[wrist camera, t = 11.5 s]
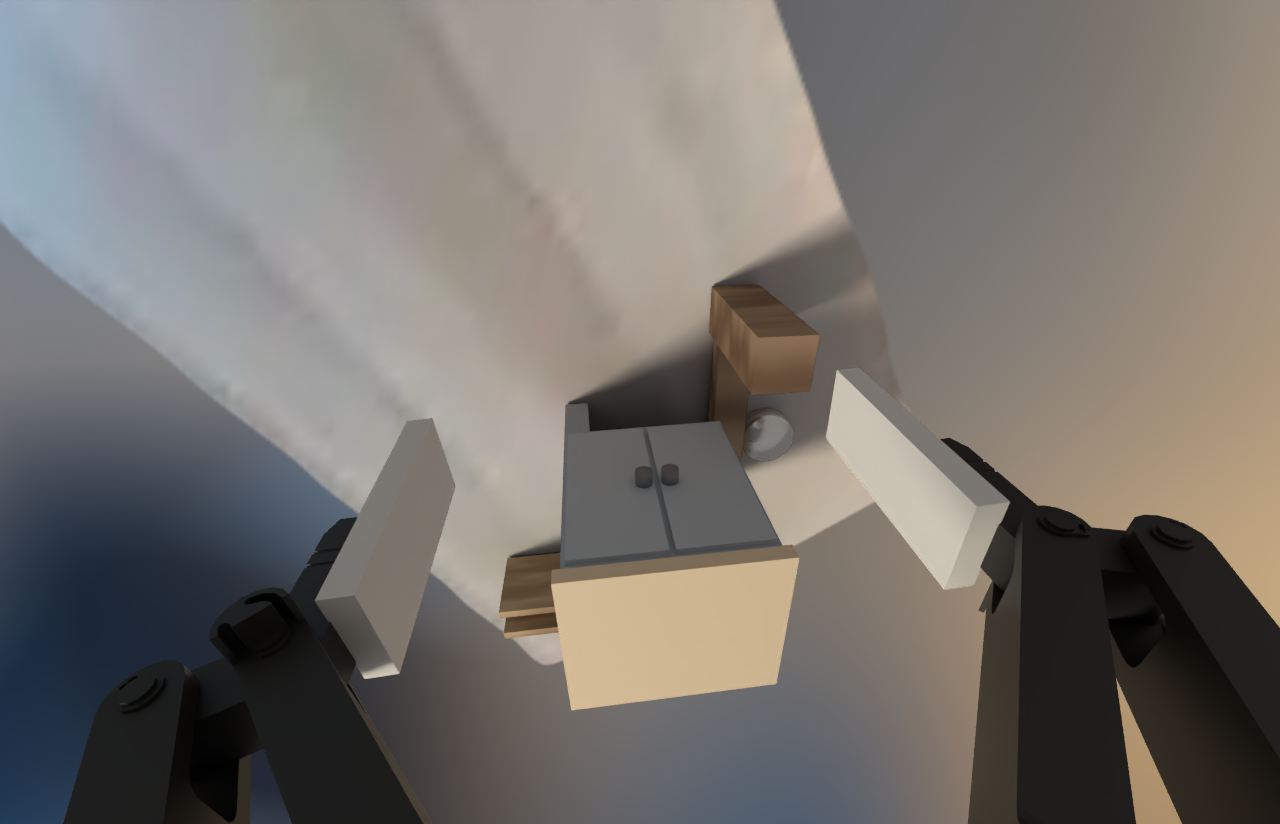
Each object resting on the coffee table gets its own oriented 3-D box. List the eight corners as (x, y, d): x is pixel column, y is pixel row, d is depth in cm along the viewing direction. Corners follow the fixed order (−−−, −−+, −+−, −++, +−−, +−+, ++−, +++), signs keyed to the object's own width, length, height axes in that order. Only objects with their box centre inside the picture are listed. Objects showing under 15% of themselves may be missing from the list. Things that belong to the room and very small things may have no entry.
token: (741, 408, 48) (747, 417, 46) (791, 407, 48) (798, 416, 47) (734, 451, 50) (739, 462, 48) (781, 450, 51) (788, 460, 49)
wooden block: (711, 286, 41) (758, 337, 31) (758, 284, 42) (819, 334, 31) (700, 455, 49) (734, 541, 39) (739, 452, 50) (783, 536, 39)
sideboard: (559, 391, 44) (548, 570, 26) (711, 380, 45) (801, 544, 27) (572, 502, 51) (571, 710, 32) (705, 490, 52) (776, 683, 34)
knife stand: (507, 558, 53) (498, 612, 47) (690, 539, 55) (705, 589, 49) (513, 582, 55) (505, 638, 49) (689, 564, 57) (703, 615, 51)
